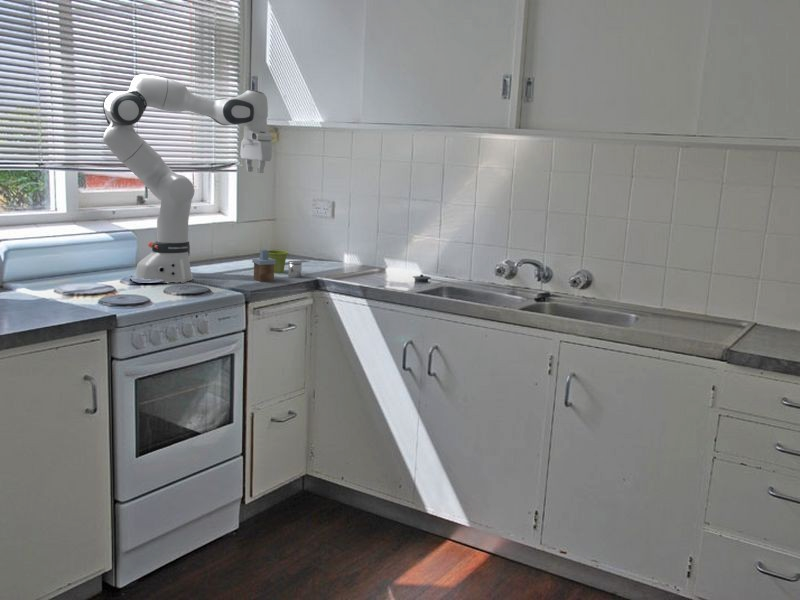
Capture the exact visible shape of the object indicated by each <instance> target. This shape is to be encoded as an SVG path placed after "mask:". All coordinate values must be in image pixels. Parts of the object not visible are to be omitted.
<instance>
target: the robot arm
mask: <svg viewBox="0 0 800 600" xmlns="http://www.w3.org/2000/svg"><path fill="white" fill-rule="evenodd" d="M268 104H269V103H268V97H267V96H266V94H265V93H264V92H261V91H258V90H253V89H248V90H246V91H244V92H243V93H241V94H239V95H236V96H234V97H231V98H225V97H224V98H218V99H212V98H211V99H210V98H207V97H204V96H201V95H197V94H193V93H192V92H190V91H189V89H188V88H187V87H186V86H185V84H183V83H180V82H178V81H176V80H174V79H170V78H167V77H162V76H158V75H151V74H138V75H136V76H134V78H133V79H132V80H131V83H130V87H129V89H128V90H127V91H112V92H110V93H109V94H107V95H106V96H105V98H104V100H103V102H102V110H103V113H104V116H105V119H106V122H107V124H108V127H107V128H106V130H105V131H104V134H103V135H102V136H103V137H102V138H103V142H104V144H105V145H106V146H107V148H108V149H109V150H110V152H112V154H113V155H114V156H115V157H116V158H117V159H118V160H119V161H120V162H121V163H122V164H123V165H124V166H125V167H126V168H128V169H129V170H130V172H132V173H133V174H134V175H135V176H136V177H137V178H138V180H140V181H141V183H142V184H143V185H144V187H146V188H147V189H148V190H149V191H150V193H152V195H153V196H154V197H155V198H157V199H158V200H159V201H160V209H159V214H158V217H157V220H156V227H157V228H156V231H157V234H156V236H157V237H156V239H157V240H156V241H155V242H153V241H148V243H147V246H148V247H149V248H151V252H150V253H149V254H148V255H147V254H146V256H145V257H143V258H142V259H141V260H140V261H139V262H137V265H136V268H135V274H134V275H135V276H136V277H137V278H144V279H156V278H157V279H163V280H164V281H165V282H181V283H180V284H185V283H186V282H189V281H192V280H193V279H194V278H193V275H192V270H191V266H190V263H191V262H190V254H191V253H190V252H191V247H190V241H189V219H190V218H189V217H190V213H191V207H192V200H193V198H194V197H195V196H194V195H195V186H194V184H193V183H192V181H191V180H190V179H189V178H188V177H186V176H185V175H183V174H177V173H176V172H175V171H173V170H172V168H170V167H169V166H168V164H167V162H165V161H164V160H163V158H162V156H161V155H160V154H159V153H158V152H157V151H156V150H155V149H154V148H153V147H151V145H150V144H149V143H148V142H147V141H146V140H145V139H144V138H143V137H142V136H140V135H139V134H138V133H137V131H136V130H135V128H134V124H137V123H138V122H139V121H140V120H141V118H142V116H143V114H144V113H145V110H146V108H148V107H149V108H153V109H158V110H160V111H161V110H162V111H166V112H173V113H175V112H176V113H177V112H178V113H181V112H192V113H195V114H198V115H203V116H206V117H208V118H210V119H211V120H213V121H214V122H216V123H217V124H219V125H221V126H237V125H241V124H243V139H242V140H241V142H240V153H239V155H240V158H241V159H243V160H245V165H246V171H247V172H250V173H251V172H253V171H254V167H253V164H252V163H253V161H258V168H257V174H264V171H265V170H264V169H265V167H266V162H270V161H271V160H272V156H273V143H272V141H274V135H273V134H272V133H271V132H270V131H269V130H268V129H269V128H268V121H267V120H268V116H269V113H268V112H269V109H268V108H269V107H268Z"/></svg>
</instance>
